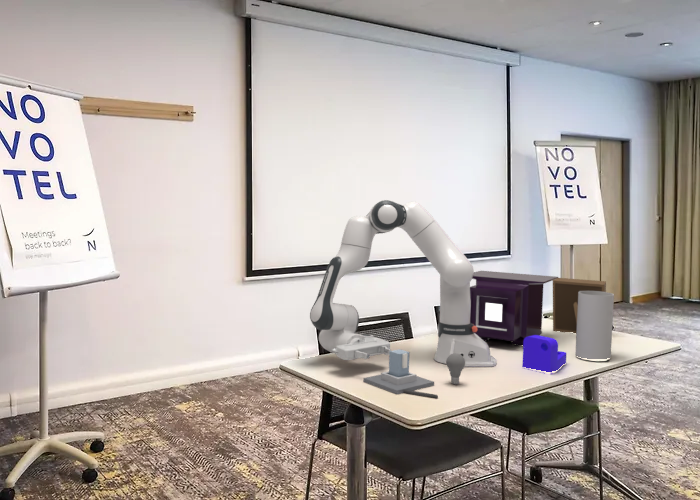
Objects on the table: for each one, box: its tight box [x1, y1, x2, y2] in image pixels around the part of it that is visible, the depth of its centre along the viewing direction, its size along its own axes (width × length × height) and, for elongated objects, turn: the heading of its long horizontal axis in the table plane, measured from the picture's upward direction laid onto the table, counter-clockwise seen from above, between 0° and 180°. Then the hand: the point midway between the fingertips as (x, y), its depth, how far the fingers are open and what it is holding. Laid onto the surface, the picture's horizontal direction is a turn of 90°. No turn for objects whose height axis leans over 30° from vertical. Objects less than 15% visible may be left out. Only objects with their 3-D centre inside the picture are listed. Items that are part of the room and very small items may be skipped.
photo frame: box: [552, 277, 607, 334], centre depth 276 cm, size 15×22×25 cm
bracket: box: [521, 335, 567, 372], centre depth 222 cm, size 18×11×12 cm, turn 131°
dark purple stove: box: [470, 270, 559, 346], centre depth 263 cm, size 35×35×27 cm
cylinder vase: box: [575, 291, 615, 359], centre depth 235 cm, size 12×12×25 cm
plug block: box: [388, 348, 410, 377], centre depth 198 cm, size 4×5×9 cm
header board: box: [363, 370, 435, 395], centre depth 198 cm, size 16×16×3 cm
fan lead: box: [403, 390, 439, 399], centre depth 187 cm, size 11×1×1 cm, turn 63°
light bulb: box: [446, 353, 465, 385], centre depth 199 cm, size 6×6×10 cm
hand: (378, 354), depth 205 cm, fingers open, 8 cm apart
